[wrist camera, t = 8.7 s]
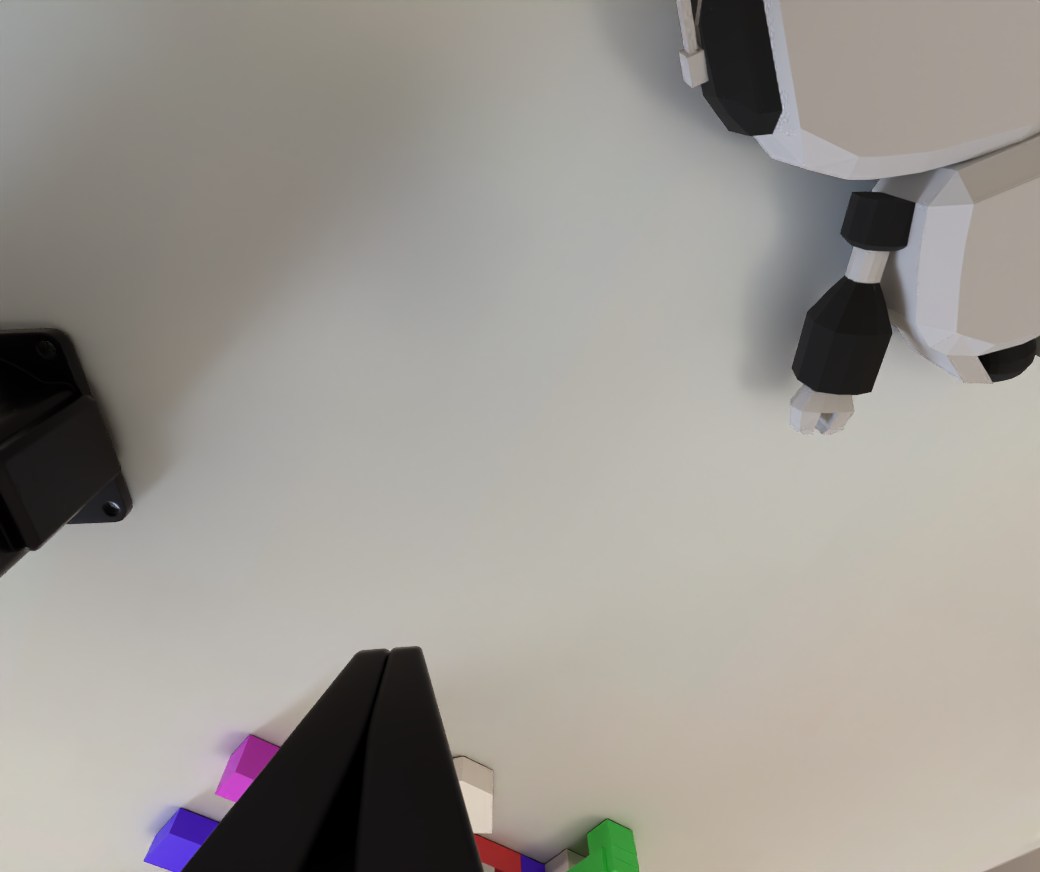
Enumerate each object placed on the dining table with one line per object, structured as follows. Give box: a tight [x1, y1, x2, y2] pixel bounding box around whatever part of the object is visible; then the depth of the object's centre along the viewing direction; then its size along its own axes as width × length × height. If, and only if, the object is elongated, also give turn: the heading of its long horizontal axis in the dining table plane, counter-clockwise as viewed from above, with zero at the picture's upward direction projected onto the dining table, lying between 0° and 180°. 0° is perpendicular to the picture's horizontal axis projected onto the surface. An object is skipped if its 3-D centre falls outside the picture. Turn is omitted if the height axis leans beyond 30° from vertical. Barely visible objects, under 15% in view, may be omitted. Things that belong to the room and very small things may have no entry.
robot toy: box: [676, 0, 1040, 435], centre depth 14 cm, size 12×4×15 cm
